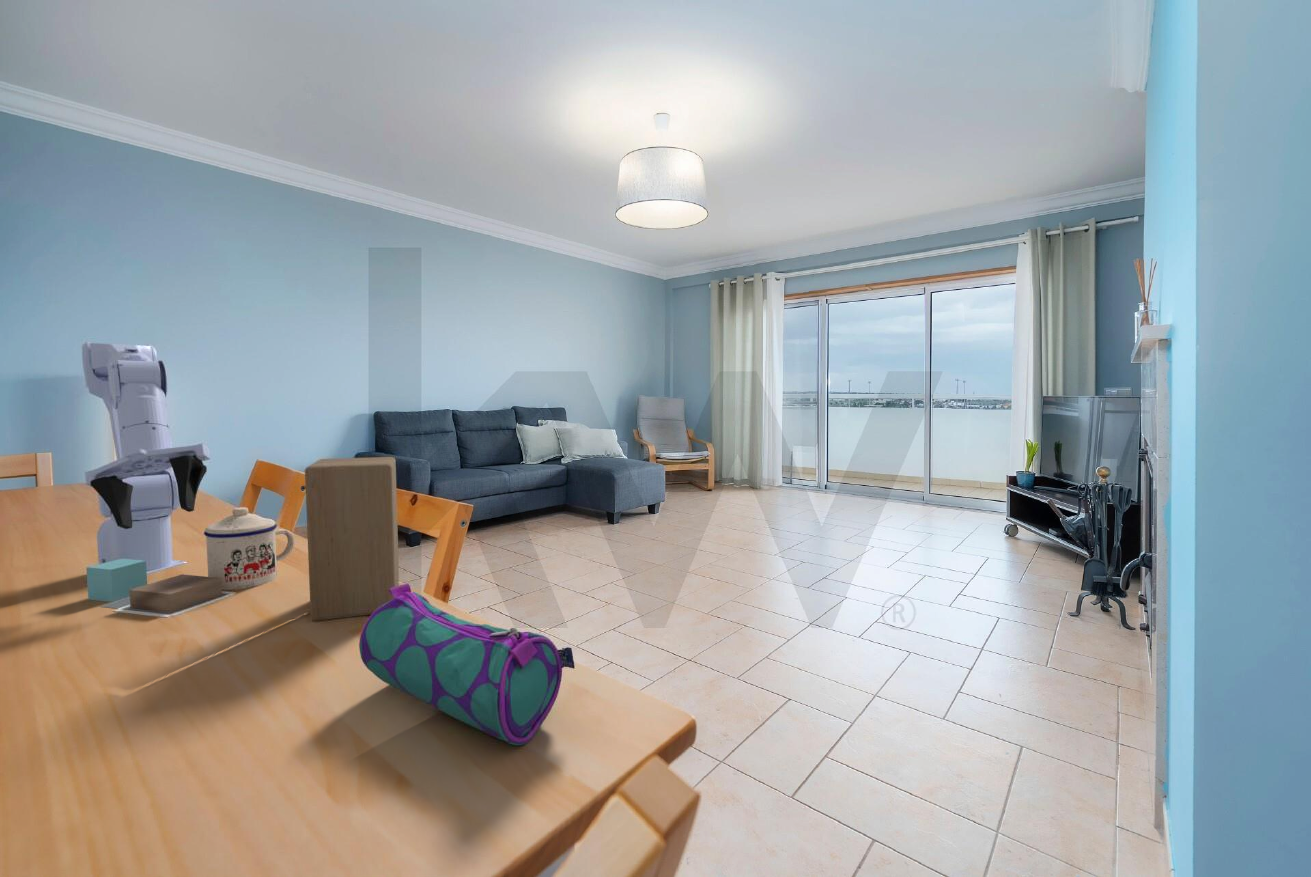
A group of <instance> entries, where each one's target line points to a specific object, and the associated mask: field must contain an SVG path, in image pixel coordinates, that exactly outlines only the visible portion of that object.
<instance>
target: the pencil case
mask: <svg viewBox="0 0 1311 877" xmlns="http://www.w3.org/2000/svg"><path fill="white" fill-rule="evenodd" d="M389 592H390V594H391V595H392V596H393V598H394V599H393V600H391V601H389V602H387V603H385V604H383V605H381V606H380V607H379V608H377V609H376V610H375V611H374V612H373V613H372V614H370V615H369V617H368V618H367V620H366V622H365V623H364V625H363V628H362V631H361V633H360V636H359V642H358V647H359V654H360V659H361V661H362V663H363V665H364V666H365V667H366V668H367V670H369V671H370V672H371V673H373V675H374V676H376V677H377V678H378V679H380V680H381V682H382V681H383V682H384V683H385V684H387V685H389V686H392V687H394V688H396V689H398V690H400V691H401V692H404V693H406V694H408V695H410V696H412V697H413V698H416V699H418V700H420V701H423V702H425V703H426V704H428V705H430V706H431V707H434V708H435V709H437V710H439V711H441V712H443V713H445V714H446V715H448V716H451V717H452V718H454V719H456V720H458V721H460V722H463V723H464V724H466V725H469V726H471V727H473V728H475V729H477V730H479V731H482V732H484V733H486V734H488V735H490V736H492V737H494V738H496V739H498V740H501V741H505V742H506V743H507V744H510V745H512V746H522V745H525V744H527V743H528V742H530V741H531V740H532V738H533V737H534V736H535V735H536V733H537V732H538V730H539V729H540V728H541V726H543V725H542V724H543V723H544V721H545V720H546V718H547V717H548V715H549V714H550V712H551V711H552V708H553V706H554V704H555V703H556V700H557V698H558V695H559V692H560V688H561V682H562V677H563V676H562V675H563V668H569V669H573V670H574V669H575V661H574V655H573V654H574V653H573V650H572V647H569V646H567V647H565V648H564V647H562V648H561V649H558V648H557V646H556V645H555V643H554V642H553V641H552V640H551V639H550V638H549V637H547V636H545V635H542V634H539V633H536V632H531V631H520V630H518V628H516V627H511V628H509V629H507V628H502V627H496V626H492V625H490V624H487V623H483V624H479V623H474V622H471V621H468V620H464V619H462V618H457V617H456V616H454V615H453V614H450V613H448V612H445V611H443V610H441V609H440V608H438V607H436V606H433V605H432V604H431V602H430V601H429V600H428V599H427V598H426V597H425V596H423V595H421V594H419V593H418V592H415V591H413V592H412V588H411V585H410V584H409V582H408V583H403V584H399V586H396V587H393V588H390V589H389Z"/></svg>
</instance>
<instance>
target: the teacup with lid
mask: <svg viewBox="0 0 1311 877" xmlns="http://www.w3.org/2000/svg"><path fill="white" fill-rule="evenodd" d="M276 523H277V522H276V521H275V520H274V519H271V518H265V517H262V516H260V515H258V514H255V513H249V508H248V507H245V506H244V507H235V508H233V510H232V514H231V515H228V516H225V517H223V518H222V519H221V520H219V521H218V522H215V523H211V524H209V525H208V526H206V528H205V529H204V532H203V535H204V536H206V538H205V540H206V541H205V542H206V558H207V559H206V560H207V577H215V578H221V586H222V591H231V590H232V591H234V590H235V591H236V590H242V589H249V588H253V587H254V588H255V587H259V586H263V585H265V584H268V583H271V582H272V581H273V582H274V580H276V579H277V578H278V566H277V565H278V564H277V562H279V561H282V560H284V559H286V558H287V557H289V555H290V554H291V553H292V551H293V549H294V547H295V535H294V534H293V533H292V532H291V531H290V530H288V529H283V528H282V529H281V528H279V529H277V527H278V526H277V525H278V524H276ZM278 535H284V536H286V537H287V538H286V539H287V544H286V546H285V549H284V550H283V551H282V552H281V553H280V554H279V555H277V545H276V544H277V543H276V536H278Z"/></svg>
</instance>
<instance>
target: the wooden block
mask: <svg viewBox="0 0 1311 877" xmlns="http://www.w3.org/2000/svg"><path fill="white" fill-rule="evenodd" d="M396 462H397V460H396V458H395V457H393V456H378V457H377V456H375V457H346V458H345V457H343V458H339V457H338V458H321V459H318V460H317V461H315V462H313V463H312V464H310V465H308V466H307V467H306V468H305V470H304V482H305V500H306V501H305V505H306V506H305V507H306V509H305V510H306V528H307V532H306V533H307V553H308V554H307V556H308V558H307V559H308V580H309V603H310V604H309V606H310V607H309V608H310V610H309V611H310V619H311V620H312V621H325V620H333V619H335V620H336V619H343V618H351V617H361V616H371V614H372V613H373V612H374V611H375V610H376V609H377V608H379V607H380V606H381V605H383V604H385V603H387V602H389V601H391V600H393V599H394V598H393V596H392V595H391V594H390V592H389V589H390V588H393V587H396V586H400V574H399V573H400V571H399V570H400V569H399V538H398V537H399V534H398V532H399V531H398V503H397V502H398V498H397V467H396V466H397V465H396V464H397V463H396ZM398 582H399V583H398Z"/></svg>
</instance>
